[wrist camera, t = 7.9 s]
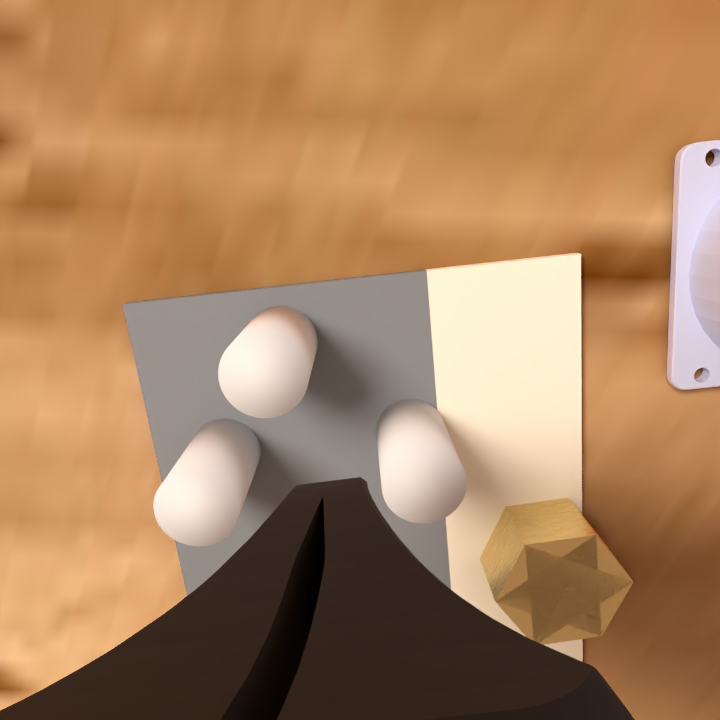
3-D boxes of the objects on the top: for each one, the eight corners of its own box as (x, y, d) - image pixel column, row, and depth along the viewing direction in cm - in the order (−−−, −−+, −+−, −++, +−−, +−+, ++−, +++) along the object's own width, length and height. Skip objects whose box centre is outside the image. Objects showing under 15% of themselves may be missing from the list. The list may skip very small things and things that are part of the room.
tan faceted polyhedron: (600, 492, 20) (632, 529, 18) (604, 585, 21) (635, 631, 19) (473, 511, 21) (489, 550, 18) (485, 602, 22) (500, 650, 19)
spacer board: (576, 252, 19) (642, 266, 14) (578, 691, 23) (629, 799, 19) (127, 302, 19) (61, 330, 15) (220, 725, 24) (191, 840, 19)
